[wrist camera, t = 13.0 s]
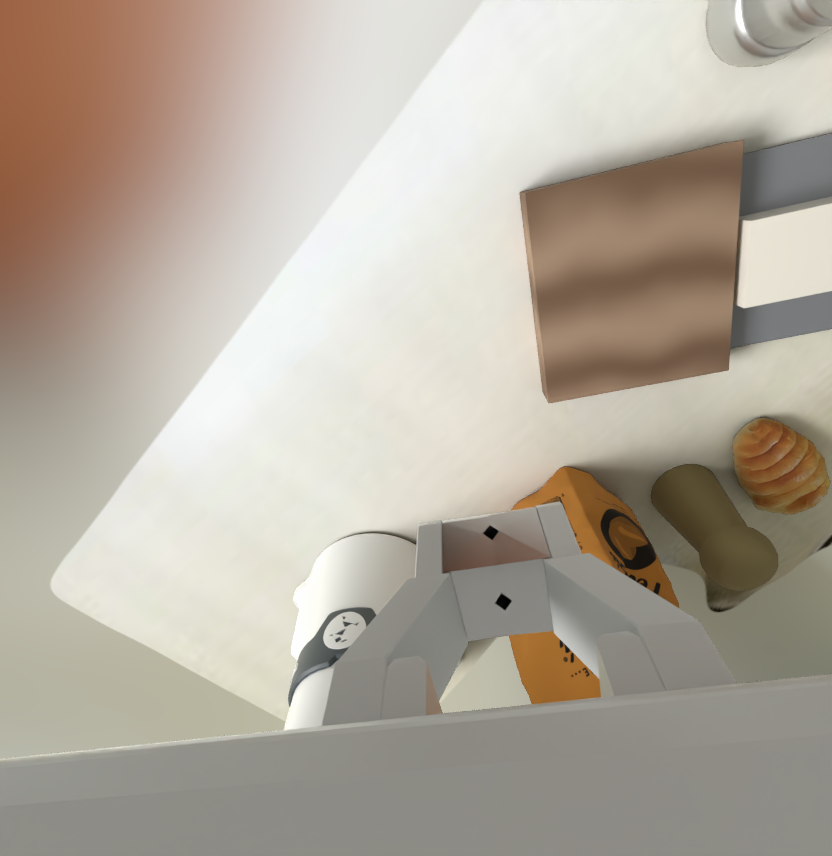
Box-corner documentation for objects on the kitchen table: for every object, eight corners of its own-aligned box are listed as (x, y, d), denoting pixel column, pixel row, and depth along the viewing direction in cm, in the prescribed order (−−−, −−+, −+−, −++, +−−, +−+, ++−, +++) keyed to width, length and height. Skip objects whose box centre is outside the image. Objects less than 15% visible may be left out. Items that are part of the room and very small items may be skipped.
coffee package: (640, 506, 47) (785, 736, 27) (547, 578, 52) (615, 820, 32) (568, 449, 44) (672, 658, 25) (478, 530, 49) (506, 761, 30)
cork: (720, 459, 44) (800, 538, 35) (714, 512, 47) (787, 599, 37) (651, 468, 45) (711, 548, 35) (649, 520, 48) (705, 607, 38)
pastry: (705, 442, 44) (728, 464, 40) (778, 397, 42) (809, 415, 38) (753, 506, 47) (778, 531, 43) (823, 466, 45) (855, 489, 41)
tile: (852, 275, 36) (880, 281, 34) (725, 300, 37) (744, 308, 35) (867, 188, 34) (898, 188, 31) (730, 218, 35) (750, 221, 33)
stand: (712, 359, 40) (728, 370, 38) (542, 391, 42) (548, 403, 40) (723, 142, 33) (743, 139, 31) (519, 192, 35) (525, 193, 33)
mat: (901, 312, 38) (907, 314, 37) (719, 347, 40) (723, 349, 39) (946, 105, 32) (955, 103, 31) (729, 157, 34) (734, 156, 33)
